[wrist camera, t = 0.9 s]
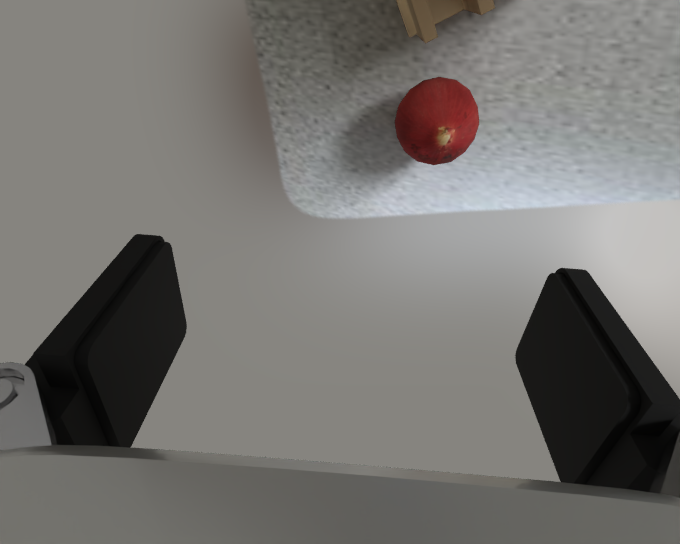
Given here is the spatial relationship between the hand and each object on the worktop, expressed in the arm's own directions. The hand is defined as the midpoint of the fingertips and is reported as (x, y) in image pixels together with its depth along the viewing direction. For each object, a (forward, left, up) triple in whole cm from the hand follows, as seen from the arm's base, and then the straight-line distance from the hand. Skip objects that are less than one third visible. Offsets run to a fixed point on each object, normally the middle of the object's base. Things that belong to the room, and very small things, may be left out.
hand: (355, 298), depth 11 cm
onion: (-4, +4, -27) cm, 28 cm away
